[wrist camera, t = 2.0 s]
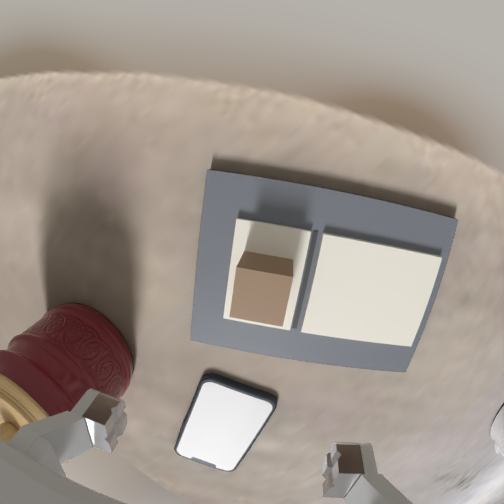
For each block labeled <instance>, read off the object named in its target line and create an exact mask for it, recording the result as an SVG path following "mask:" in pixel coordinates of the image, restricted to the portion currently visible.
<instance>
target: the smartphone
mask: <svg viewBox="0 0 504 504" xmlns="http://www.w3.org/2000/svg"><path fill="white" fill-rule="evenodd" d="M276 406H277V399H276V398H275V396H274V395H272V394H270V393H267V392H264V391H261V390H258V389H255V388H252V387H249V386H247V385H244V384H241V383H238V382H235V381H233V380H230V379H227V378H225V377H222V376H219V375H217V374H213V373H209V374H205V375H204V376H203V377H202V379H201V381H200V384H199V386H198V389H197V391H196V394H195V396H194V399H193V402H192V404H191V407H190V409H189V412H188V414H187V417H186V419H185V420H184V422H183V424H182V427H181V430H180V431H181V432H180V435H179V437H178V440H177V442H176V445H175V447H174V450H175V452H176V453H177V454H178V455H180V456H182V457H185V458H188V459H190V460H193V461H196V462H199V463H201V464H204V465H207V466H210V467H213V468H216V469H219V470H223V471H227V472H231V471H234V470H235V469H236V468H237V466H238V465H239V463H240V462H241V461H242V459H243V458H244V457H245V455H246V454H247V452H248V451H249V450H250V448H251V446H252V444H253V443H254V442H255V440H256V439H257V437H258V435H259V434H260V432H261V431H262V429H263V428H264V426H265V425H266V423H267V422H268V420H269V419H270V417H271V415H272V414H273V412H274V411H275V409H276Z"/></svg>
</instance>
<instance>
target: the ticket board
mask: <svg viewBox="0 0 504 504" xmlns="http://www.w3.org/2000/svg"><path fill="white" fill-rule="evenodd" d="M237 218H242V219H248V220H254V221H260V222H266V223H272V224H277V225H283V226H289V227H294V228H300V229H305V230H311V235H310V240H309V245H308V250H307V255H306V260H305V265H304V270H303V274H302V279H301V284H300V288H299V293H298V297H297V302H296V306H295V311H294V315H293V319H292V324H291V328H290V330H284V329H278V328H273V327H267V326H261V325H256V324H251V323H245V322H240V321H235V320H230V319H225V318H223V316H224V308H225V300H226V292H227V284H228V277H229V269H230V262H231V254H232V247H233V239H234V232H235V225H236V219H237ZM457 223H458V220H457V219H455V218H452V217H448V216H445V215H441V214H437V213H433V212H430V211H426V210H422V209H418V208H414V207H410V206H406V205H401V204H397V203H393V202H389V201H384V200H380V199H376V198H371V197H367V196H362V195H357V194H353V193H348V192H343V191H338V190H333V189H328V188H323V187H318V186H312V185H307V184H301V183H296V182H290V181H284V180H278V179H272V178H266V177H260V176H254V175H247V174H240V173H233V172H226V171H219V170H212V169H209V170H207V175H206V183H205V191H204V199H203V208H202V216H201V225H200V234H199V244H198V254H197V264H196V275H195V286H194V298H193V311H192V324H191V338H190V340H193V341H198V342H202V343H207V344H211V345H216V346H221V347H226V348H230V349H236V350H241V351H246V352H251V353H257V354H262V355H268V356H274V357H280V358H286V359H292V360H299V361H305V362H312V363H320V364H327V365H335V366H343V367H352V368H361V369H371V370H381V371H393V372H406V370H407V368H408V366H409V363H410V361H411V359H412V357H413V354H414V352H415V350H416V347H417V345H418V343H419V340H420V338H421V335H422V333H423V330H424V328H425V325H426V323H427V320H428V317H429V315H430V312H431V309H432V306H433V304H434V301H435V298H436V295H437V292H438V289H439V286H440V283H441V280H442V277H443V274H444V270H445V267H446V264H447V260H448V257H449V253H450V250H451V246H452V242H453V239H454V235H455V231H456V227H457Z"/></svg>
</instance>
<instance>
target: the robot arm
mask: <svg viewBox="0 0 504 504" xmlns="http://www.w3.org/2000/svg"><path fill="white" fill-rule="evenodd" d="M124 409H125V401H123V400H120V399H118V398H115V397H112V396H110V395H107V394H105V393H102V392H99V391H97V390H94V389H92V388H91V389H89V390H87V391H86V393H85V394H84V395H83V396H82V398H81V399H80V400H79V402H78V403H77V404H76V405H75V407H74V408H73V409H72V410H71V412H69V411H65V412H62V413H59V414H56V415H53V416H50V417H47V418H44V419H41V420H38V421H35V422H32V423H29V424H26V425H23V426H22V427H21V428H20V429H19V430H18V432H17V433H16V434H15V435H14V436H13V437H12V439H11V440H10V441H9V442H8V443H6V442H5V441H3V440H2V439H0V504H126V503H123V502H121V501H118V500H115V499H113V498H110V497H108V496H105V495H103V494H101V493H98V492H96V491H94V490H92V489H89V488H87V487H85V486H83V485H80V484H78V483H76V482H74V481H72V480H70V479H68V478H66V475H65V473H64V471H63V469H62V467H61V464H63V463H65V462H67V461H69V460H71V459H72V458H74V457H76V456H78V455H80V454H82V453H84V452H86V451H87V450H89V449H91V448H92V447H96V448H99V449H101V450H104V451H106V452H109V453H112V452H113V450H114V448H115V446H116V445H117V443H118V440H117V437H118V436H121V435H122V434H123V432H124V431H125V428H126V424H127V414H126V413H125V412H124V411H123V410H124ZM491 438H492V439H493V440H494V441H495V445H494V450H495V451H496V453H502V454H503V456H504V406H503V407H502V408H501V410H500V411H499V413H498V414H497V416H496V418H495V420H494V422H493V424H492V427H491ZM322 475H323V476H324V478H325V479H326V480H325V481H324V483H323V497H334V498H344V500H345V501H346V503H347V504H413V503H411V502H410V501H409V500H408V499H407V498H406V497H405V496H404V495H403V494H402V493H401V492H400V491H399V490H397V489H396V488H395V487H394V486H393V485H392V484H391V483H390V482H389V481H388V480H387V479H386V478H385V477H384V476H383V475H382V474H378V471H377V467H376V462H375V457H374V452H373V448H372V445H371V444H370V443H345V442H334V443H332V445H331V447H330V453H328V454H327V455H326V457H325V459H324V462H323V468H322Z"/></svg>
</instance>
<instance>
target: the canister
mask: <svg viewBox="0 0 504 504" xmlns="http://www.w3.org/2000/svg"><path fill="white" fill-rule="evenodd" d="M132 374H133V361H132V356H131V353H130V350H129V348H128V346H127V344H126V342H125V340H124V339H123V337H122V335H121V334H120V333H119V331H118V330H117V329H116V328H115V327H114V325H113V324H112V323H111V322H110V321H109V320H107V319H106V318H105V317H104V316H103V315H101V314H100V313H98V312H97V311H95V310H94V309H92V308H90V307H87V306H85V305H82V304H77V303H67V304H63V305H61V306H57V307H55V308H53V309H51V310H50V311H48V312H47V313H46V314H45V315H44V316H43V317H42V318H41V319H40V320H39V321H38V322H36V323H35V324H34V325H32V326H31V327H30V328H28V329H27V330H26V331H24V332H23V333H22V334H20V335H17V336H15V337H14V338H13V339H12V340H11V341H10V343H9V345H8V349H7V350H0V439H2V440H3V441H5V442H6V443H8V442H9V441H10V440H11V439H12V437H13V436H14V435H15V434H16V433H17V432H18V430H19V429H20V428H21V427H22V426H23V425H26V424H29V423H32V422H35V421H38V420H41V419H44V418H47V417H50V416H53V415H56V414H59V413H62V412H65V411H69V412H71V410H72V409H73V408H74V407H75V405H76V404H77V403H78V402H79V400H80V399H81V398H82V396H83V395H84V394H85V393H86V391H87V390H89V389H91V388H92V389H94V390H97V391H99V392H102V393H105V394H107V395H110V396H112V397H115V398H118V399H119V398H120V397H122V395H123V394H124V393H125V391H126V390H127V388H128V386H129V384H130V380H131V377H132ZM67 462H68V461H67ZM67 462H65V463H67ZM65 463H63V464H65Z"/></svg>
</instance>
